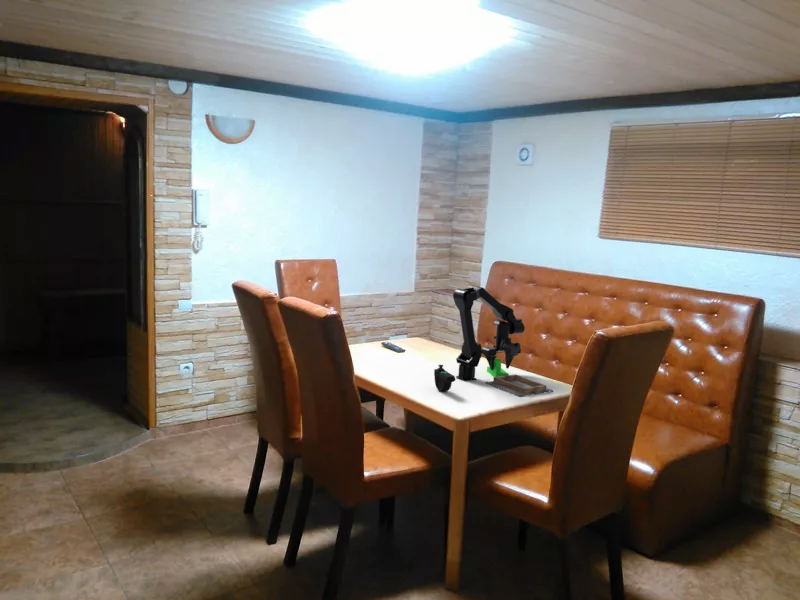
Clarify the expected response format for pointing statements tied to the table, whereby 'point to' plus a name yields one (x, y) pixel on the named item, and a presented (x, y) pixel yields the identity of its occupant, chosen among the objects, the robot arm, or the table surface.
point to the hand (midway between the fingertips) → (499, 369)
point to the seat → (518, 385)
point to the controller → (443, 379)
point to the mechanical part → (497, 369)
